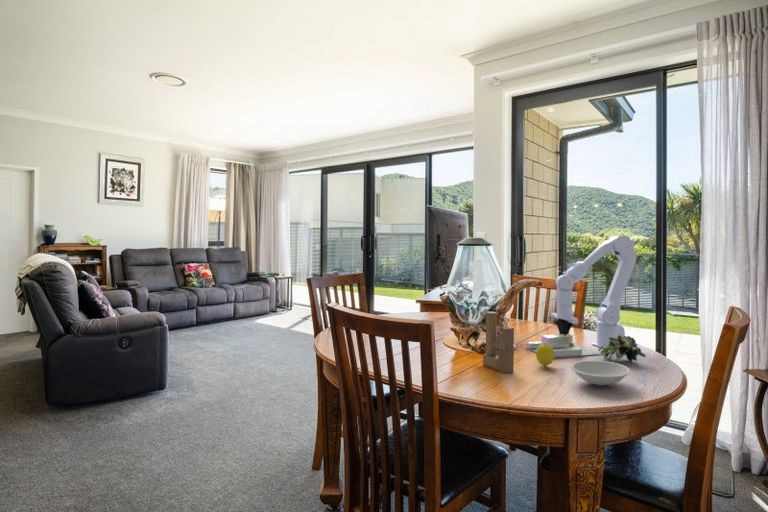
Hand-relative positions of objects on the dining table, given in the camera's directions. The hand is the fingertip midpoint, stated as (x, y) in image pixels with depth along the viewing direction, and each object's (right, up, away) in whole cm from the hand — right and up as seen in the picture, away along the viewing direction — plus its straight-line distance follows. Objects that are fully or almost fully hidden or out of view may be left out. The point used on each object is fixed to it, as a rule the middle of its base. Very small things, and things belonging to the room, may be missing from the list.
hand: (563, 338), depth 166 cm
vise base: (-6, -3, -11) cm, 13 cm away
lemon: (-19, -4, -30) cm, 36 cm away
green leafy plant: (+9, -4, -25) cm, 27 cm away
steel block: (-9, -2, -13) cm, 16 cm away
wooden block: (-35, -4, -31) cm, 47 cm away
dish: (-10, -4, -47) cm, 48 cm away
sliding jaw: (-7, -2, -6) cm, 10 cm away
